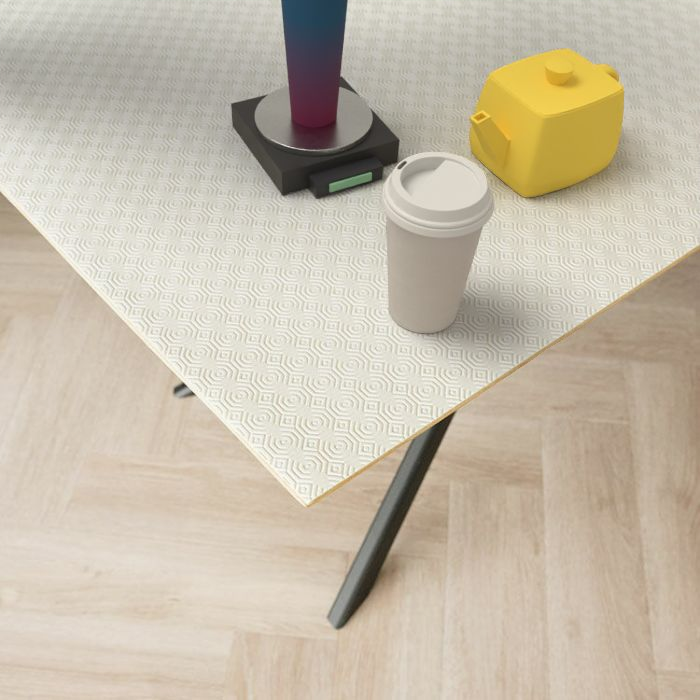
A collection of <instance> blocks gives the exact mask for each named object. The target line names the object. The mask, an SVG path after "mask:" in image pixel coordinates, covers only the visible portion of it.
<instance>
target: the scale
mask: <svg viewBox="0 0 700 700" xmlns="http://www.w3.org/2000/svg"><path fill="white" fill-rule="evenodd" d="M339 87H342V88H345V89H347V90H349V91H352V92H354V93H355V94H357V95H358V96H360V95H359V93H358V92H357V91H356V90H355V89H354V88H353V87H352V85H350V83H349V82H347V80H346V79H345V78H344V77H343V76H342V75H341V76H340V86H339ZM269 94H270V93H267V94H265V95H260V96H256V97H252V98H248V99H244V100H243V99H242V100H240V101H236V102H232V103H230V105H231V106H230V108H231V110H230V111H231V122H232V124H231V125H232V127H233V129H234V130H235V132H237V134H238V136H239V137H240V138H241V140H242V142H243V143H244V144H245V146H247V148H248V150H249V151H250V152H251V154H252V155H253V156H254V158H255V159H256V161H257V163H258V164H259V165H260V166H261V167H262V169H263V170H264V172H265V173H266V174H267V176H268V177H269V179H270V180H271V181H272V182H273V185H274V186H275V187H276V189H277V190H278V191H279V192H280V194H281V195H282V196H285V195H289V194H292V193H297V192H299V191H304V190H306V189H308V190H309V192H310V193H311V194H312V195H313V196H314V198H315V199H320V198H323V197H327V196H329V195H330V196H331V195H334V194H336V193H341V192H345V191H347V190H351V189H354V188H358V187H361V186H364V185H368V184H372V183H376V182H379V181H382V180H383V179H384V178H383V177H384V176H383V175H384V167H387V166H390V165H394V164H397V163H398V162H399V152H400V151H399V150H400V139H399V138H398V136H397V135H396V134H395V133H394V132H393V131H392V130H391V128H389V126H388V125H387V124H386V123H385V121H383V120H382V119H381V117H379V116H378V114H377V113H376V112H375V111H374V110H373V109H372V108H371V107H370V109H371V111H372V115H373V123H372V129H371V131H370V133H369V135H368V136H367V138H366V139H365V140H364V141H363V142H361V143H360V144H359V145H357V146H356V147H354V148H352V149H350V150H347V151H344V152H341V153H337V154H333V155H326V156H303V155H297V154H292V153H288V152H285V151H282V150H280V149H277V148H275V147H273V146H272V145H270V144H269V143H267V142H266V141H265V140H264V139H263V138H262V137H261V136H260V135H259V133H258V132H257V129H256V127H255V117H254V116H255V110H256V108H257V106H258V104H259V103H260V102H261V100H262V99H263V98H265V97H266V96H267V95H269Z"/></svg>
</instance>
